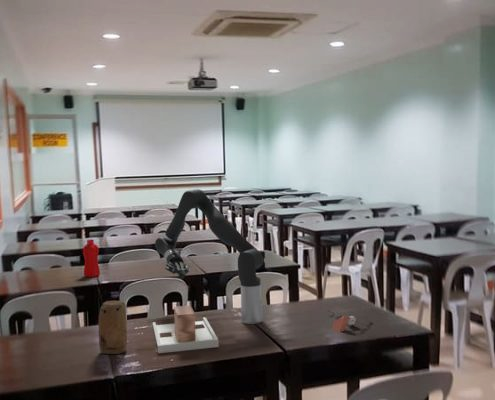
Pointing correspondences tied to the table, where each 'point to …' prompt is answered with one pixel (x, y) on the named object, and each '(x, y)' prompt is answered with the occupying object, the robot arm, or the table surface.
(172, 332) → the box
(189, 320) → the terracotta block
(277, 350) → the table surface
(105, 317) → the block
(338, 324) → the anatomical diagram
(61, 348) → the table surface
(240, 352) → the table surface
